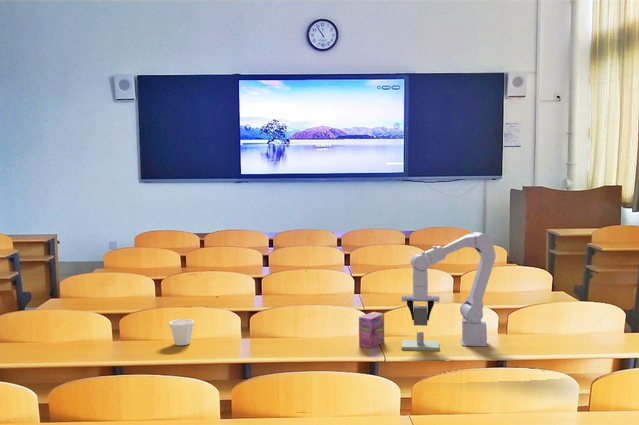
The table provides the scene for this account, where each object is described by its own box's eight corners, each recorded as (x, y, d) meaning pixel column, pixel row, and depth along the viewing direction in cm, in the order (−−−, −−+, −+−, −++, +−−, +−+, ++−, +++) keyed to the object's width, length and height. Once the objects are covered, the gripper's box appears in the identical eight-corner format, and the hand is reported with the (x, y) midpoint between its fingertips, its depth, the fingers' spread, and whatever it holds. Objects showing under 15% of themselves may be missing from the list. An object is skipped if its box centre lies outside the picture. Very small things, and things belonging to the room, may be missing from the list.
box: (371, 348, 244) (370, 318, 243) (358, 346, 247) (358, 316, 246) (385, 342, 252) (384, 313, 251) (372, 340, 255) (372, 311, 255)
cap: (427, 322, 247) (427, 305, 246) (427, 325, 242) (427, 308, 241) (413, 322, 248) (413, 305, 247) (413, 325, 243) (413, 308, 242)
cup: (197, 340, 260) (197, 318, 260) (190, 347, 250) (189, 325, 250) (174, 340, 261) (173, 318, 261) (166, 347, 251) (165, 324, 251)
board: (438, 343, 248) (438, 340, 248) (438, 350, 239) (438, 347, 238) (402, 342, 251) (402, 339, 251) (401, 350, 241) (401, 346, 241)
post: (423, 342, 246) (423, 331, 245) (423, 344, 243) (423, 333, 243) (416, 342, 246) (416, 331, 246) (416, 344, 243) (416, 333, 243)
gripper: (439, 283, 246) (439, 317, 247) (401, 283, 249) (402, 316, 250) (439, 287, 239) (439, 322, 240) (401, 286, 242) (401, 321, 243)
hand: (420, 319), depth 245 cm, fingers closed on cap, 5 cm apart
